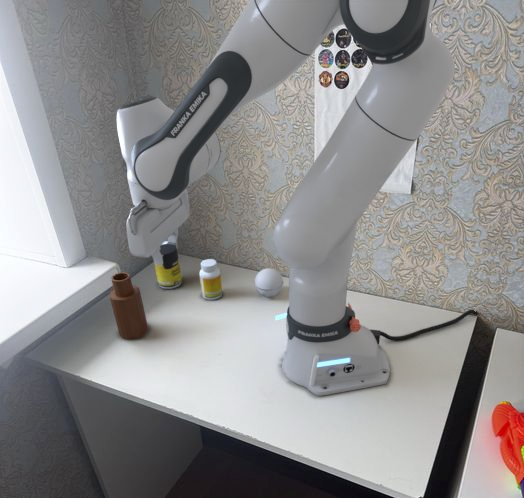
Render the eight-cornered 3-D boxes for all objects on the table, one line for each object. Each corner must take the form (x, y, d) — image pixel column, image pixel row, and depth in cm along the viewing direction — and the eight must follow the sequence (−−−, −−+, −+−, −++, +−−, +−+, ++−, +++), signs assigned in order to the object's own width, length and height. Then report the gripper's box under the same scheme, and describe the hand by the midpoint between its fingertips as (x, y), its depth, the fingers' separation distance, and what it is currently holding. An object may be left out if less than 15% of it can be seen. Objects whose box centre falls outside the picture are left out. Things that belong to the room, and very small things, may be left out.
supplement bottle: (198, 294, 132) (193, 262, 126) (214, 287, 135) (211, 255, 129) (209, 302, 129) (205, 269, 123) (226, 295, 131) (223, 262, 125)
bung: (181, 261, 107) (177, 243, 105) (178, 272, 103) (175, 253, 101) (158, 262, 107) (155, 244, 105) (155, 273, 103) (151, 255, 101)
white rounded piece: (249, 296, 130) (247, 271, 126) (267, 284, 135) (266, 260, 130) (280, 308, 125) (279, 283, 121) (297, 295, 130) (297, 270, 125)
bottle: (150, 322, 123) (138, 268, 114) (145, 339, 117) (132, 283, 108) (122, 324, 123) (108, 269, 114) (116, 340, 117) (101, 285, 108)
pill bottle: (171, 292, 134) (164, 252, 127) (153, 286, 137) (145, 247, 130) (187, 281, 138) (181, 242, 131) (169, 275, 141) (162, 237, 134)
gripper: (143, 213, 87) (157, 283, 95) (190, 174, 102) (199, 237, 111) (111, 211, 88) (128, 280, 97) (162, 173, 104) (173, 235, 112)
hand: (166, 257), depth 104 cm, fingers closed on bung, 5 cm apart
